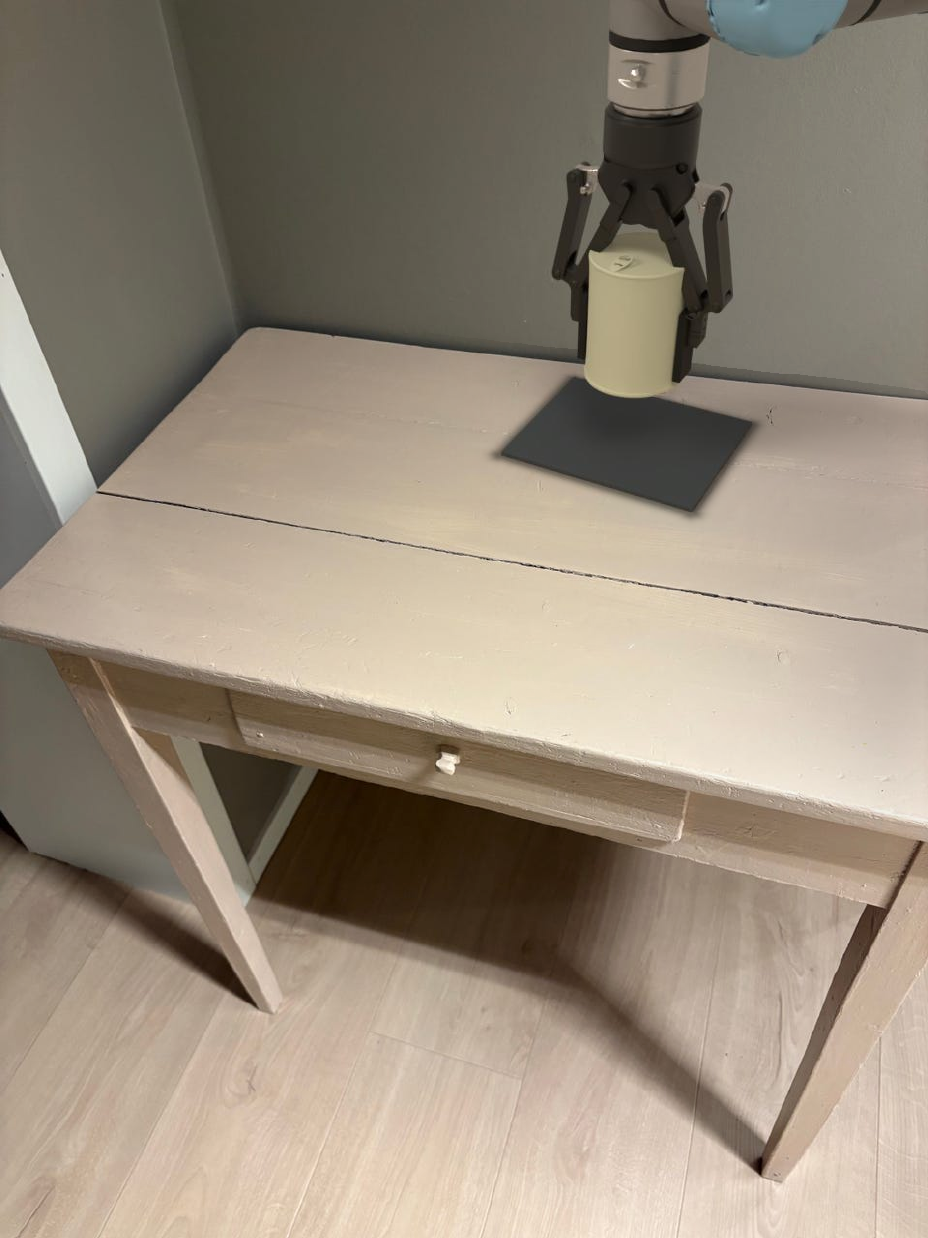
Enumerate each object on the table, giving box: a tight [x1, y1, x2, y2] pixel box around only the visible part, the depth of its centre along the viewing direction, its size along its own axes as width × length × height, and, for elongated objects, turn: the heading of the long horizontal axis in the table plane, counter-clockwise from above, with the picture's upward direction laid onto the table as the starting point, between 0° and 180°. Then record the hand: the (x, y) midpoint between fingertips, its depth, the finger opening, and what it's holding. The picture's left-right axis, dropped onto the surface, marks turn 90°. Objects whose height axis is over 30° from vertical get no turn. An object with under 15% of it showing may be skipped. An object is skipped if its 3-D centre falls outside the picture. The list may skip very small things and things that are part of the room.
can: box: [583, 231, 687, 398], centre depth 86 cm, size 9×9×12 cm
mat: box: [500, 376, 753, 513], centre depth 96 cm, size 20×16×1 cm
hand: (633, 363), depth 90 cm, fingers closed on can, 9 cm apart
